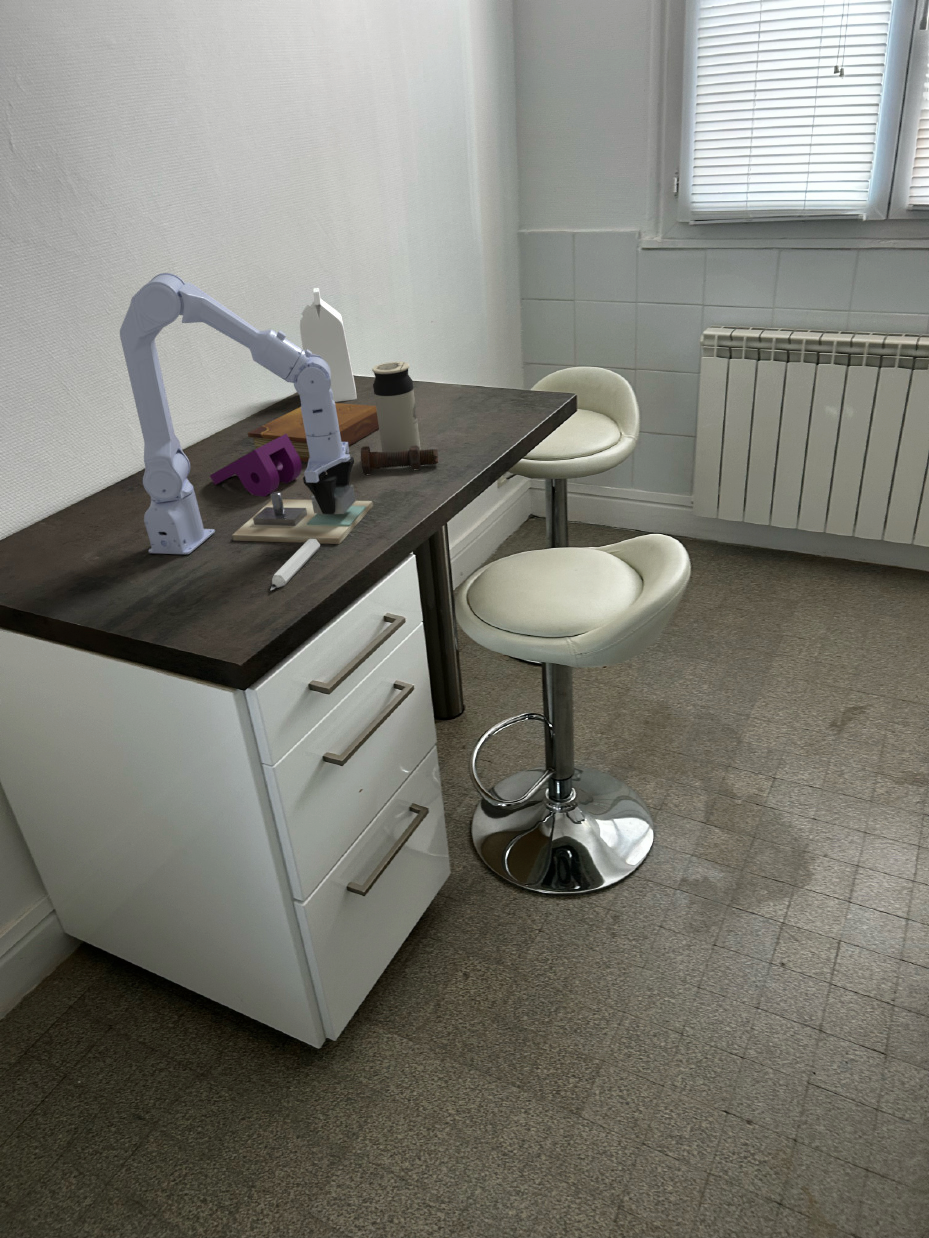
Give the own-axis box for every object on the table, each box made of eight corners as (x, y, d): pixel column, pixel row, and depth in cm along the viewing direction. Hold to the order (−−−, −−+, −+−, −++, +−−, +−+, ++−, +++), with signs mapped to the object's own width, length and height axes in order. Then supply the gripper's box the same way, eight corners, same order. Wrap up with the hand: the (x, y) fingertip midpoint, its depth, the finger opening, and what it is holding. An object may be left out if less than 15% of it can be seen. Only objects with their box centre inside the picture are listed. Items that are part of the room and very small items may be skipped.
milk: (356, 399, 230) (340, 291, 217) (311, 405, 229) (291, 297, 216) (355, 386, 240) (339, 283, 227) (311, 392, 239) (293, 288, 227)
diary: (322, 466, 190) (317, 439, 187) (253, 458, 199) (247, 433, 196) (382, 430, 207) (378, 405, 204) (315, 424, 216) (311, 400, 213)
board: (339, 543, 153) (338, 536, 153) (233, 540, 159) (231, 533, 158) (372, 506, 166) (371, 499, 166) (273, 504, 172) (272, 497, 171)
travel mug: (377, 459, 188) (365, 372, 180) (389, 446, 195) (377, 361, 186) (414, 459, 186) (403, 371, 178) (425, 446, 193) (415, 360, 184)
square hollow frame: (343, 513, 157) (340, 497, 156) (314, 513, 159) (310, 497, 158) (355, 501, 162) (352, 485, 161) (326, 500, 164) (323, 485, 162)
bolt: (439, 476, 182) (364, 480, 183) (438, 456, 185) (364, 461, 185) (437, 456, 177) (360, 461, 178) (436, 437, 180) (360, 441, 180)
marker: (271, 600, 140) (313, 553, 153) (281, 594, 139) (322, 547, 152) (260, 586, 139) (304, 540, 152) (270, 581, 138) (313, 535, 151)
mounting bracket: (223, 517, 185) (277, 489, 173) (200, 480, 183) (254, 449, 171) (253, 500, 192) (308, 472, 180) (232, 464, 190) (286, 433, 178)
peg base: (295, 525, 159) (290, 499, 157) (254, 524, 161) (248, 498, 159) (307, 514, 163) (302, 488, 161) (267, 513, 166) (261, 487, 163)
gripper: (327, 446, 147) (340, 523, 153) (360, 417, 159) (371, 490, 165) (287, 445, 149) (302, 522, 155) (322, 417, 161) (335, 490, 167)
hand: (335, 506), depth 160 cm, fingers closed on square hollow frame, 6 cm apart
